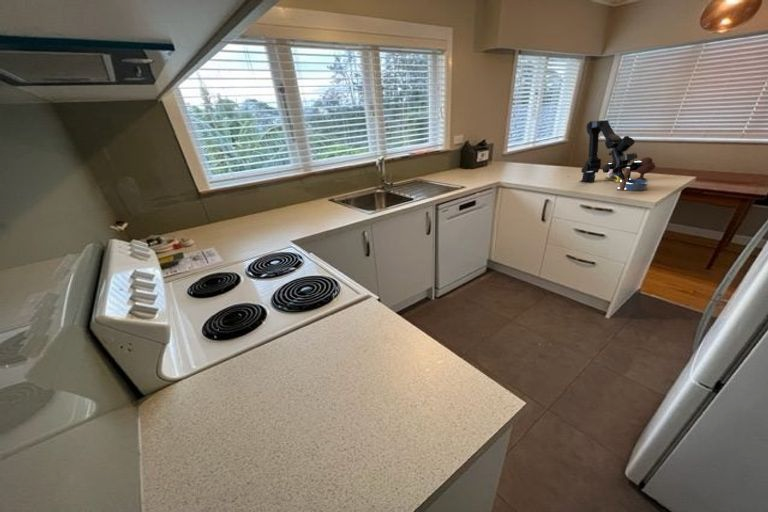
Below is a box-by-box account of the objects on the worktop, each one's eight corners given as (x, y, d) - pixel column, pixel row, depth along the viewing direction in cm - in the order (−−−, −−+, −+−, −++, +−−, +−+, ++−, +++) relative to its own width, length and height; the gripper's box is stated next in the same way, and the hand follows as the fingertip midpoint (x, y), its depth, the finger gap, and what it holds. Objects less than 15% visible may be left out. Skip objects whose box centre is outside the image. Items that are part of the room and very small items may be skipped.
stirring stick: (615, 190, 176) (621, 167, 170) (619, 188, 177) (625, 166, 172) (623, 191, 172) (629, 168, 166) (627, 190, 174) (634, 167, 168)
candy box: (605, 177, 213) (608, 165, 209) (609, 177, 213) (612, 165, 209) (616, 182, 199) (619, 169, 195) (620, 182, 198) (623, 169, 195)
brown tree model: (655, 180, 195) (663, 157, 188) (638, 182, 195) (644, 158, 189) (643, 177, 204) (650, 154, 197) (626, 178, 205) (632, 156, 198)
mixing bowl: (613, 188, 186) (615, 181, 184) (626, 185, 191) (628, 178, 189) (638, 192, 175) (640, 185, 173) (650, 188, 180) (653, 181, 178)
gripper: (610, 149, 169) (618, 172, 164) (645, 146, 167) (654, 169, 162) (599, 161, 179) (605, 183, 174) (631, 158, 178) (639, 181, 173)
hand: (626, 179), depth 171 cm, fingers closed on stirring stick, 2 cm apart
